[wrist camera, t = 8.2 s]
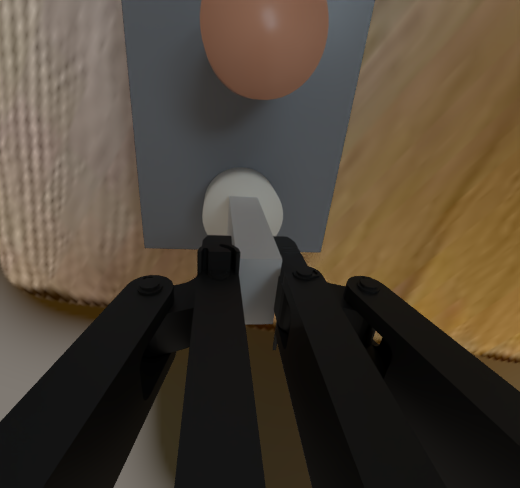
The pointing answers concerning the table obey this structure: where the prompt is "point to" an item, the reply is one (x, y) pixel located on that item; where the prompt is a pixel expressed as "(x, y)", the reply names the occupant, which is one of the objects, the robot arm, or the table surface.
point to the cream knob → (240, 185)
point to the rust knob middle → (264, 43)
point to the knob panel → (234, 123)
